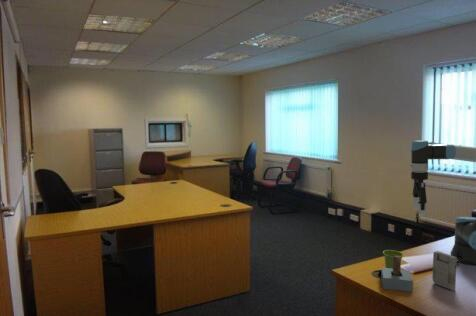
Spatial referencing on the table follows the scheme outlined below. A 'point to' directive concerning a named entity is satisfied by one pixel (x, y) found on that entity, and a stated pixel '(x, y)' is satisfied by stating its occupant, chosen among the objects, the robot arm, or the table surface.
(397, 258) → the pin
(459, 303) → the table surface
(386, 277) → the bore block
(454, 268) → the handheld gaming console
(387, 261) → the plant pot
